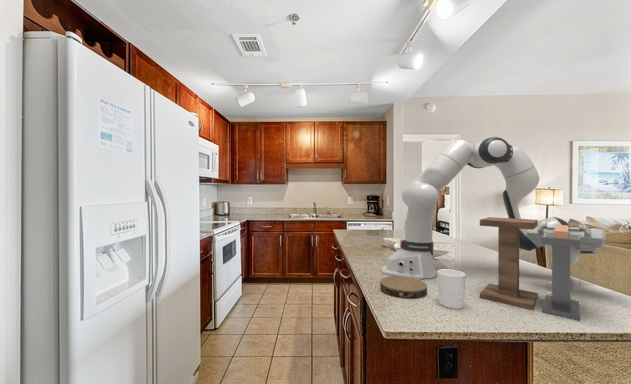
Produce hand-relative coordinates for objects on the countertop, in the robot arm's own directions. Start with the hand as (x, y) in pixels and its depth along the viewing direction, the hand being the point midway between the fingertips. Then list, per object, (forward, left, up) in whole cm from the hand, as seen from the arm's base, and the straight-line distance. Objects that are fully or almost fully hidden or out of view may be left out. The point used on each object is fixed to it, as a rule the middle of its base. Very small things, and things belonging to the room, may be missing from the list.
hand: (562, 225), depth 91 cm
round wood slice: (-49, -13, -25) cm, 57 cm away
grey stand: (-4, -11, -24) cm, 27 cm away
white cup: (-34, -20, -25) cm, 47 cm away
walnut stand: (-16, -6, -24) cm, 30 cm away
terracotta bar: (-2, -6, -2) cm, 7 cm away
